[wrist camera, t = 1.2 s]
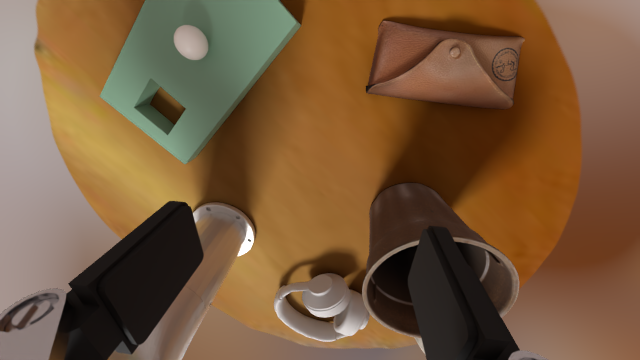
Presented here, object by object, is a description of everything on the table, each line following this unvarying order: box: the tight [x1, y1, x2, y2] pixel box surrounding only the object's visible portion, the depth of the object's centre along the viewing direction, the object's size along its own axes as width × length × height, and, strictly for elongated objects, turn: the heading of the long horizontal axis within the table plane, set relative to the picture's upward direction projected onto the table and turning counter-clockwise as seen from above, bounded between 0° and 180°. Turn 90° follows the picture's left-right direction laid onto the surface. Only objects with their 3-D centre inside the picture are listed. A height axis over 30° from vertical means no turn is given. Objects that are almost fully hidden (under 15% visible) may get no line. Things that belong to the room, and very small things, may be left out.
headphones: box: [274, 273, 370, 342], centre depth 50 cm, size 18×8×20 cm
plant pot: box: [362, 183, 519, 338], centre depth 33 cm, size 16×16×16 cm
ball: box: [174, 25, 208, 60], centre depth 27 cm, size 4×4×4 cm
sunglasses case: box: [366, 21, 525, 109], centre depth 29 cm, size 18×7×7 cm, turn 85°
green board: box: [100, 0, 301, 164], centre depth 31 cm, size 26×14×3 cm, turn 135°
